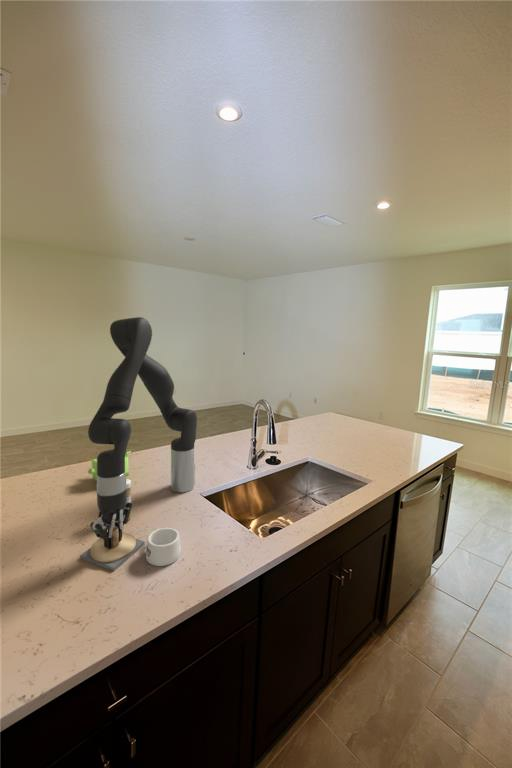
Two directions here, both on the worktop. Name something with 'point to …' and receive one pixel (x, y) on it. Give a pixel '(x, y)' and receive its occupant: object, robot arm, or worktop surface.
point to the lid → (118, 549)
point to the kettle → (94, 467)
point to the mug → (163, 547)
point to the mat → (114, 564)
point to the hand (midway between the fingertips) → (113, 544)
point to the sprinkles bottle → (128, 494)
